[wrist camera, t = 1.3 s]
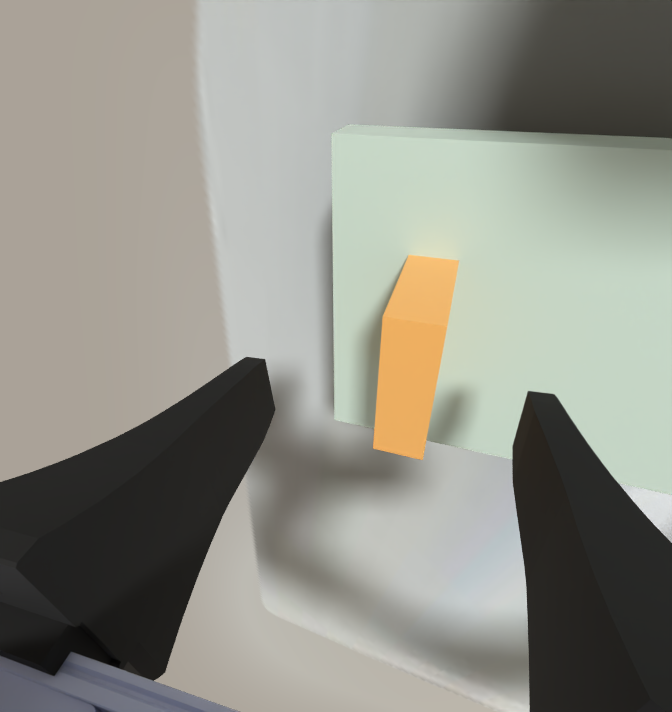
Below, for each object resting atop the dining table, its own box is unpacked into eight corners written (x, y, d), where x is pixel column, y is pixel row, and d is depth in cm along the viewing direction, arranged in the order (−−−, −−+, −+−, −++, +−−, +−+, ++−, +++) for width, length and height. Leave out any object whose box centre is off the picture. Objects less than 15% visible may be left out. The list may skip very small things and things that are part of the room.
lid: (1002, 151, 10) (1430, 245, 5) (721, 472, 17) (801, 626, 12) (348, 124, 13) (274, 164, 9) (345, 394, 21) (303, 491, 16)
